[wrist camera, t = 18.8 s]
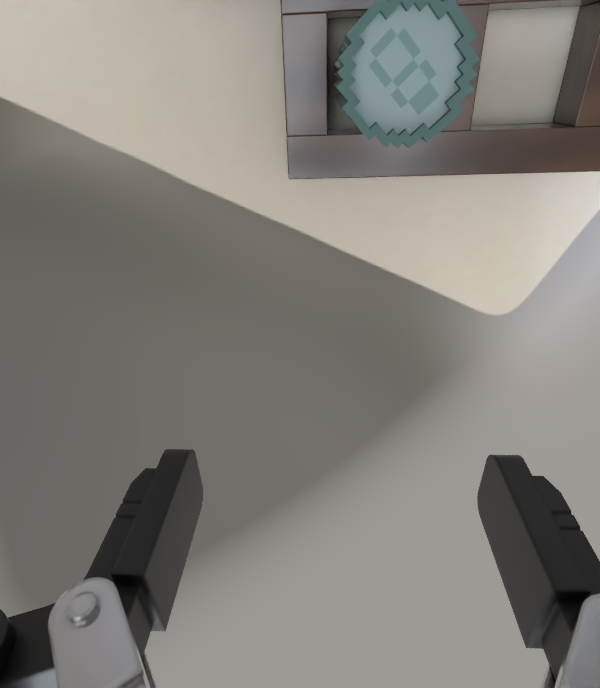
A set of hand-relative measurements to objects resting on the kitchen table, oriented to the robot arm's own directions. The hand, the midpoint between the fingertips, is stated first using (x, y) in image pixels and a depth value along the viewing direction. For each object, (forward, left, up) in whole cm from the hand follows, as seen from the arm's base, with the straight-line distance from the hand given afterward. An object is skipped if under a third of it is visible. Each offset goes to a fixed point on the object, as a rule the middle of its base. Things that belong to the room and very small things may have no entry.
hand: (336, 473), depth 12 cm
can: (-10, +3, -30) cm, 32 cm away
